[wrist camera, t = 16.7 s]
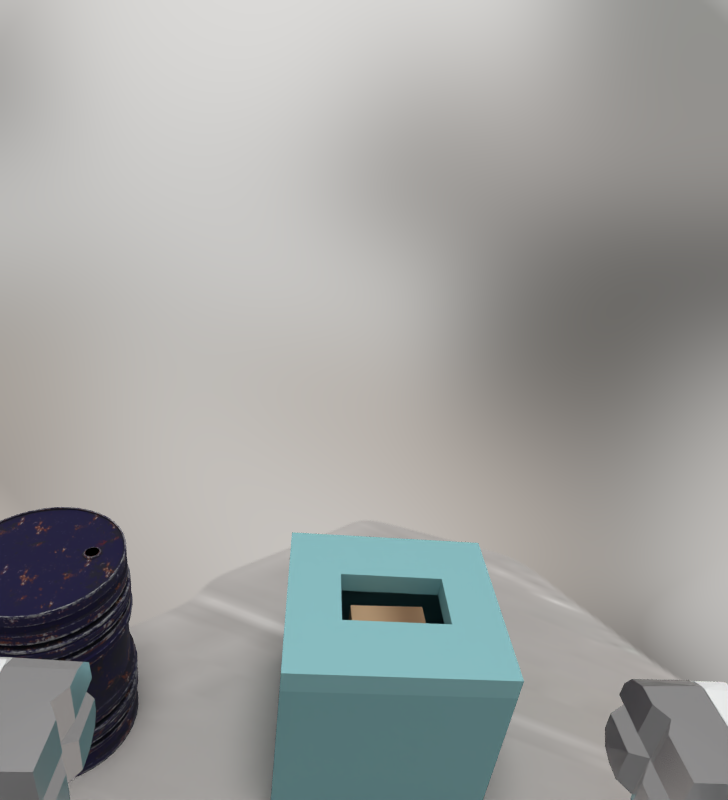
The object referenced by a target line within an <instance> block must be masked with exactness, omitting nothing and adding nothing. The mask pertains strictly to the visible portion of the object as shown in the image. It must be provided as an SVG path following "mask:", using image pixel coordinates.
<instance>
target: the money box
mask: <svg viewBox="0 0 728 800" xmlns="http://www.w3.org/2000/svg"><path fill="white" fill-rule="evenodd" d="M351 605H361V606H402V607H422V608H423V613H424V617H425V622H426V623H406V622H382V621H358V620H349V613H350V606H351ZM523 683H524V680H523V677H522V674H521V671H520V668H519V665H518V662H517V659H516V656H515V653H514V650H513V647H512V644H511V641H510V638H509V635H508V632H507V629H506V626H505V623H504V620H503V616H502V613H501V610H500V607H499V604H498V601H497V598H496V595H495V592H494V589H493V586H492V583H491V580H490V577H489V574H488V571H487V568H486V565H485V562H484V559H483V556H482V553H481V550H480V547H479V544H478V543H469V542H451V541H433V540H415V539H398V538H380V537H362V536H344V535H327V534H309V533H292V540H291V553H290V565H289V578H288V590H287V603H286V615H285V628H284V640H283V653H282V665H281V678H280V691H279V703H278V716H277V729H276V742H275V754H274V767H273V780H272V793H271V800H483V798H484V795H485V792H486V789H487V787H488V784H489V781H490V778H491V775H492V772H493V769H494V766H495V763H496V761H497V758H498V755H499V752H500V749H501V746H502V743H503V740H504V737H505V735H506V732H507V729H508V726H509V723H510V720H511V717H512V714H513V711H514V709H515V706H516V703H517V700H518V697H519V694H520V691H521V688H522V685H523Z"/></svg>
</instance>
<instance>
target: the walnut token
mask: <svg viewBox="0 0 728 800" xmlns="http://www.w3.org/2000/svg"><path fill="white" fill-rule="evenodd" d="M349 620H358V621H382V622H406V623H426V622H425V617H424V613H423V608H422V607H402V606H361V605H351V606H350V613H349Z"/></svg>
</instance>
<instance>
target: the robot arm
mask: <svg viewBox="0 0 728 800" xmlns="http://www.w3.org/2000/svg"><path fill="white" fill-rule="evenodd" d="M91 679H92V676H91V670H90V665H89V662H78V661H61V660H45V659H29V658H13V657H0V800H70V794H69V788H68V783H69V782H70V781H71V780H72V779H73V778H74V777H75V776H76V775H77V774H79V773H80V772H81V771H82V770H83V768H84V765H85V762H86V759H87V756H88V753H89V750H90V747H91V742H92V738H93V733H94V728H95V717H96V707H95V699H94V698H93V697H92V696H91V695H90V694H89V693H87V692H86V691H87V689H88V686H89V684H90V681H91ZM619 695H620V697H621V699H622V701H623V703H624V705H622V706H621V707H619V708H618V709H616V710H615V711H614V712H612V713H611V714H610V717H609V719H608V722H607V725H606V727H605V747H606V751H607V756H608V760H609V763H610V766H611V768H612V771H613V773H614V776H615V778H616V780H618V781H619V782H620V783H621V784H622V785H623V786H624V787H625V788H626V789H627V790H628V791H629V792H630V793H631V794H632V795H631V800H728V684H726V683H725V682H706V681H689V680H653V679H631V680H630V681H628V682H626V683H625V684H624V686H623V688H622V690H621V692H620V694H619Z"/></svg>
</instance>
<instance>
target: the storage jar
mask: <svg viewBox="0 0 728 800" xmlns="http://www.w3.org/2000/svg"><path fill="white" fill-rule="evenodd" d="M131 609H132V593H131V579H130V570H129V567H128V564H127V557H126V541H125V537H124V534H123V532H122V531H121V529H120V527H119V526H118V525H117V524H116V523H115V522H114V521H112V520H111V519H110V518H108V517H106V516H104V515H102V514H100V513H97V512H94V511H91V510H86V509H81V508H70V507H55V508H45V509H39V510H33V511H28V512H25V513H22V514H17V515H15V516H12V517H9V518H7V519H4V520H1V521H0V657H13V658H29V659H45V660H61V661H78V662H89V665H90V670H91V676H92V679H91V681H90V684H89V686H88V689H87V691H86V692H87V693H89V694H90V695H91V696H92V697H93V698H94V699H95V707H96V717H95V728H94V733H93V738H92V742H91V747H90V750H89V753H88V756H87V759H86V762H85V765H84V768H83V770H82V771H81V772H80V773H79V774H77V775H76V776H79V775H81V774H83V773H85V772H87V771H89V770H91V769H93V768H94V767H96V766H97V765H99V764H100V763H102V762H103V761H104V760H106V759H107V758H108V757H109V756H110V755H111V754H112V753H114V752H115V750H116V749H117V748H118V747H119V746H120V745H121V744H122V742H123V741H124V740H125V738H126V737H127V735H128V734H129V732H130V730H131V728H132V726H133V724H134V721H135V718H136V715H137V710H138V691H137V684H138V668H137V651H136V647H135V644H134V641H133V638H132V636H131V634H130V632H129V620H130V615H131ZM76 776H75V777H76Z"/></svg>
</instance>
